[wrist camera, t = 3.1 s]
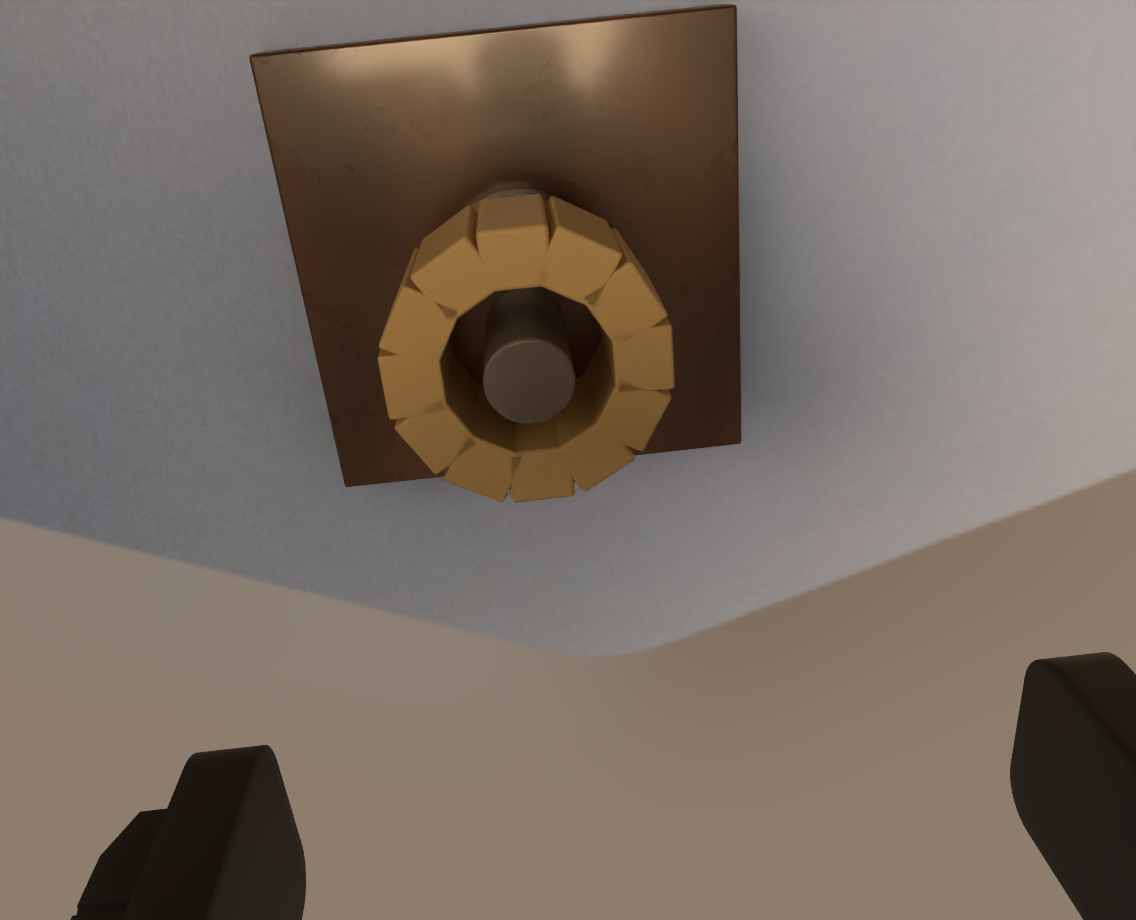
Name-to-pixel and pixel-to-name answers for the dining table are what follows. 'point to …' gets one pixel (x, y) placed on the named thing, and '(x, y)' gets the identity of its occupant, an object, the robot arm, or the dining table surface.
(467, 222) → the segmented tan ring
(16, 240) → the dining table surface
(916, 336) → the dining table surface
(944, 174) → the dining table surface
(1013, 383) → the dining table surface
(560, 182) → the stand
